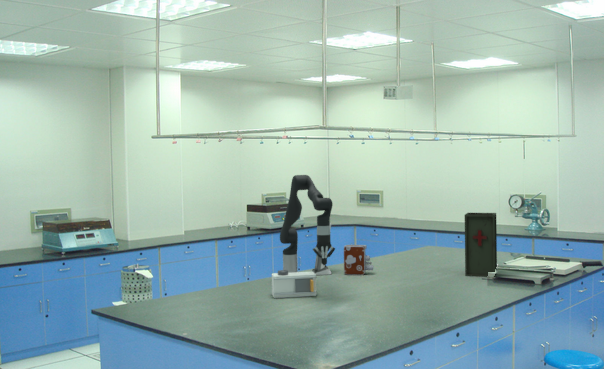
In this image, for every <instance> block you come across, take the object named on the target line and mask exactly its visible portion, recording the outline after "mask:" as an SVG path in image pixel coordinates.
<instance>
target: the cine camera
mask: <svg viewBox="0 0 605 369" xmlns="http://www.w3.org/2000/svg"><path fill="white" fill-rule="evenodd" d="M367 246H368V245H367V244H345V245H343V273H344V275H347V276H364V275H365V274H366V271H374V265H372V261H371V256H370V255H369V254H368V255H366V250H367Z"/></svg>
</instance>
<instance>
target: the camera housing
mask: <svg viewBox="0 0 605 369" xmlns="http://www.w3.org/2000/svg"><path fill="white" fill-rule="evenodd" d="M310 278H313V281H314V292H311V291H306V292H295V279H310ZM317 293H318V292H317V275H316V274H315V273H314V272H313V271H312V270H311V271H297V272H292V273H288V270H283V269H279V270H277V272H274V273H271V295H272V297H273V298H274V299H281V298H298V297H316V296H317Z"/></svg>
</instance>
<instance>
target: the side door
mask: <svg viewBox="0 0 605 369" xmlns="http://www.w3.org/2000/svg"><path fill="white" fill-rule="evenodd" d="M306 291H311V292H314V281H313V278H310V279H295V292H306Z"/></svg>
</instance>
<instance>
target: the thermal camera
mask: <svg viewBox="0 0 605 369" xmlns="http://www.w3.org/2000/svg"><path fill="white" fill-rule="evenodd" d="M331 228H332V223H331V222H330V230H331ZM317 252H318V253H319V254H320V255H321V252H320V251H319V250H318V248H317ZM315 256H316V257H315V262H314V263H315V264H314V268H312V270H311V272H312V271H313V272H314V273H315V274H316V276H329V275H332V271H331V269H330V268H329V267H328V266H327V264H326V265H323V264H322V262H321V258H320V257H318V256H317V254H315Z"/></svg>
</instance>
